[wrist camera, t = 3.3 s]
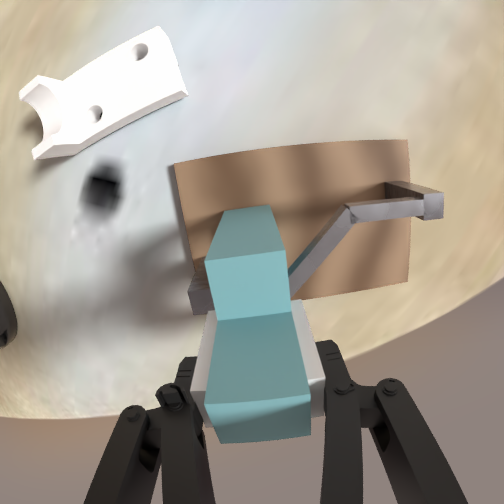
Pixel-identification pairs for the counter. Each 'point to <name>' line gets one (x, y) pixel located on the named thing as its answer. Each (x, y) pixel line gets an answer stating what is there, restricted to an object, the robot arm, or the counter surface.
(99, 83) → the bracket
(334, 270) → the base board
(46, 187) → the counter surface
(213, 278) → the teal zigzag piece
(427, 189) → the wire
